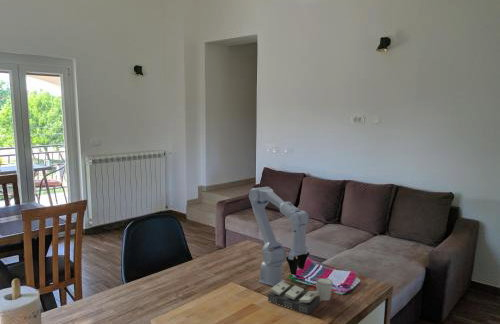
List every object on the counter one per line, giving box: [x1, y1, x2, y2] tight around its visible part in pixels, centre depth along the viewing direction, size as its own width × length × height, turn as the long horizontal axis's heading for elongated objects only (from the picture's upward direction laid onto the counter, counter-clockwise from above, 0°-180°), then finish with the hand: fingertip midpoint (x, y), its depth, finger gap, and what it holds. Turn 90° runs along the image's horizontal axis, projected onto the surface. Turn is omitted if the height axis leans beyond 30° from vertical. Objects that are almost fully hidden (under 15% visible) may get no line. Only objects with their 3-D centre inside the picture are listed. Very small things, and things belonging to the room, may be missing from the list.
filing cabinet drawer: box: [285, 285, 305, 300], centre depth 148 cm, size 4×9×1 cm, turn 147°
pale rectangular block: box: [270, 281, 291, 295], centre depth 151 cm, size 4×9×1 cm, turn 147°
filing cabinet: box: [267, 286, 321, 316], centre depth 148 cm, size 18×11×4 cm, turn 57°
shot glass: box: [315, 277, 334, 302], centre depth 153 cm, size 7×7×7 cm
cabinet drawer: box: [300, 290, 318, 303], centre depth 144 cm, size 4×9×1 cm, turn 148°
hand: (297, 271), depth 155 cm, fingers open, 7 cm apart
